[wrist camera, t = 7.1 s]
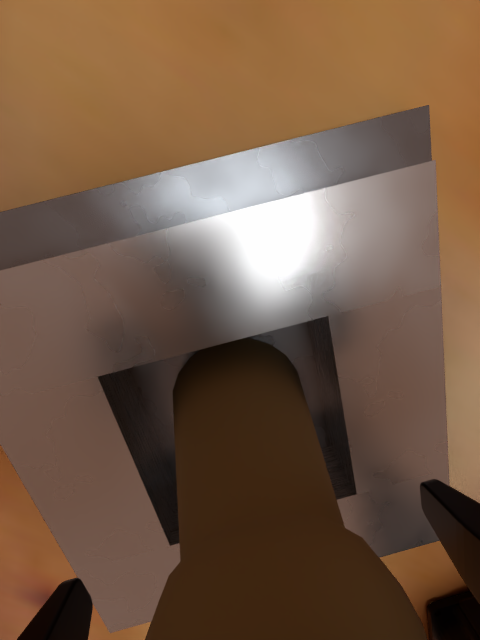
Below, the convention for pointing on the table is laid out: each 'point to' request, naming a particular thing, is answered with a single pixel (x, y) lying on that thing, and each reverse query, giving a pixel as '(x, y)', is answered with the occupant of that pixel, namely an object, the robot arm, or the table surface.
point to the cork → (265, 516)
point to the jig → (225, 337)
